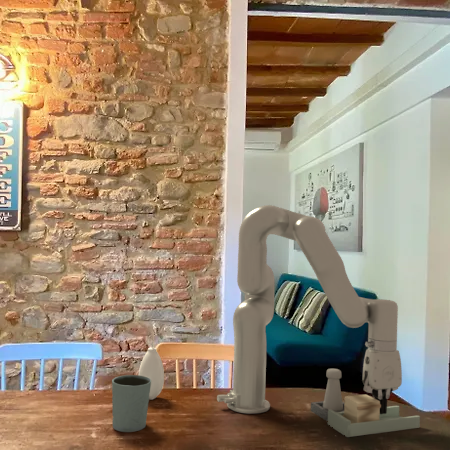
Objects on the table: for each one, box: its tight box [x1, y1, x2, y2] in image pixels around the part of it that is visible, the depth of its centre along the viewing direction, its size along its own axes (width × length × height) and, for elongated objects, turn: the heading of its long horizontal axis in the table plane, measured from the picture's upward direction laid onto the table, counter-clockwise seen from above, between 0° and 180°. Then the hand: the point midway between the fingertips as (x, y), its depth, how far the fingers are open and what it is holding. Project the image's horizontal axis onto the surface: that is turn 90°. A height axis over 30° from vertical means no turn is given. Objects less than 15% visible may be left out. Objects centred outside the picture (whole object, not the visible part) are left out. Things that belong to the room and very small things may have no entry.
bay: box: [327, 405, 421, 438], centre depth 142 cm, size 23×9×4 cm, turn 111°
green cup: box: [111, 374, 151, 433], centre depth 137 cm, size 10×10×12 cm
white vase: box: [137, 339, 165, 401], centre depth 159 cm, size 8×8×18 cm
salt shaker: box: [323, 368, 343, 411], centre depth 150 cm, size 6×6×13 cm
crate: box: [342, 394, 381, 424], centre depth 140 cm, size 7×7×7 cm
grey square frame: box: [310, 400, 344, 422], centre depth 150 cm, size 10×10×2 cm
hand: (380, 412), depth 143 cm, fingers closed
